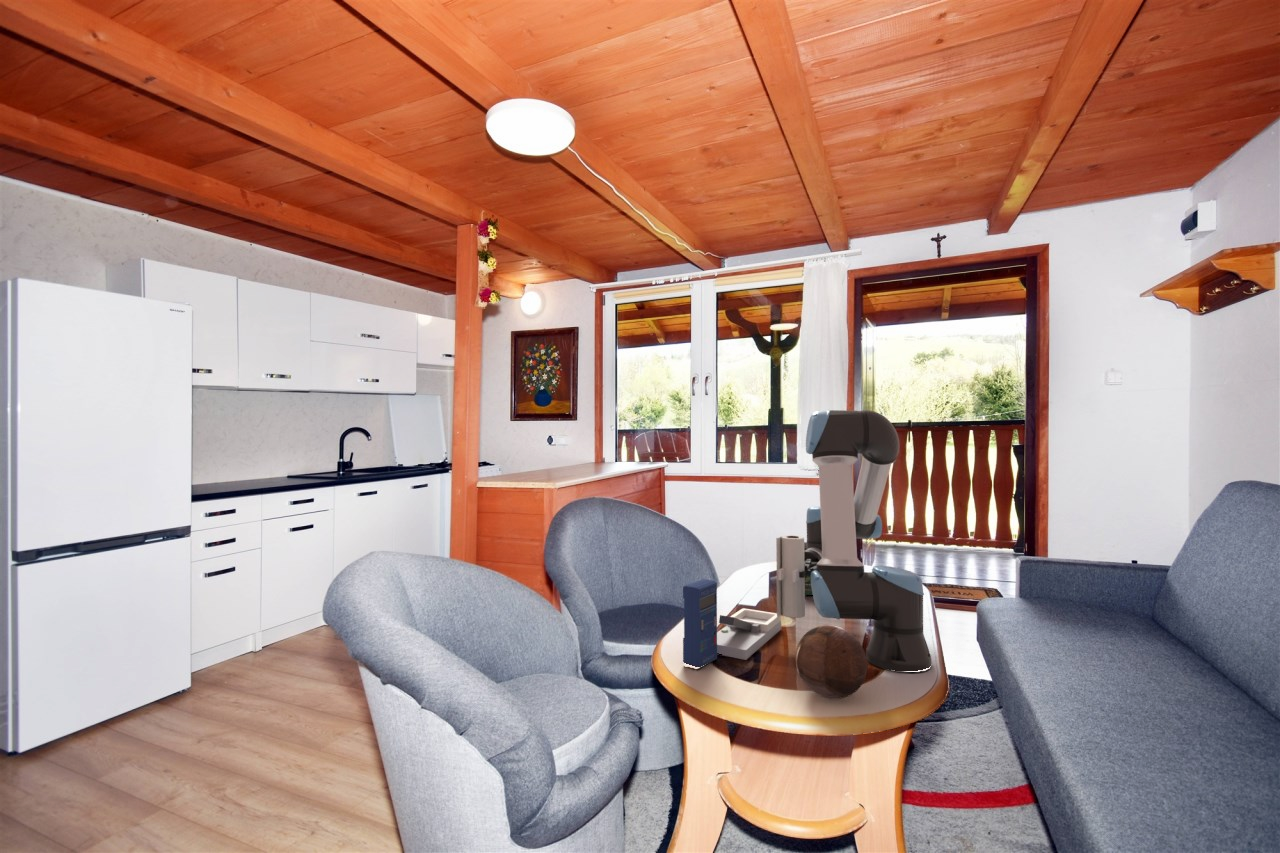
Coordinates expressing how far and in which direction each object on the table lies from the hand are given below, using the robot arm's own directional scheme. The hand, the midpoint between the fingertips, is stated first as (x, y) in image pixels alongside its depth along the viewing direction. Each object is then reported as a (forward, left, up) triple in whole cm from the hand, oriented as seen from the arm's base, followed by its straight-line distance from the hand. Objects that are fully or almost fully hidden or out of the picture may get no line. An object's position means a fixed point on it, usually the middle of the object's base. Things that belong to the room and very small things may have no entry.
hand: (786, 575), depth 158 cm
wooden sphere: (-26, +5, -20) cm, 34 cm away
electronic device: (0, +25, -20) cm, 32 cm away
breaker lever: (+13, +6, -17) cm, 22 cm away
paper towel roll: (+4, -4, -12) cm, 13 cm away
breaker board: (+13, +6, -20) cm, 24 cm away
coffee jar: (+51, -38, -20) cm, 66 cm away
